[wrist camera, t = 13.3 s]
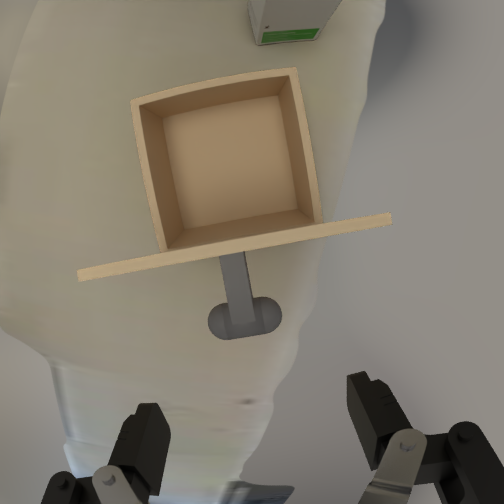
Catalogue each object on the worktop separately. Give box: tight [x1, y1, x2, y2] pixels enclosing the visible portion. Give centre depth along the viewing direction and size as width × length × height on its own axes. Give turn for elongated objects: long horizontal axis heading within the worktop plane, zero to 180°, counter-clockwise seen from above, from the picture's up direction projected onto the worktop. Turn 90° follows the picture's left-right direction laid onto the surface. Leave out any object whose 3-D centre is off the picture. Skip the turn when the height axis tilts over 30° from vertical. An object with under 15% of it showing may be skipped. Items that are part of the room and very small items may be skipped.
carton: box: [130, 67, 323, 253], centre depth 32 cm, size 16×16×10 cm
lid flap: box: [77, 212, 392, 340], centre depth 22 cm, size 16×16×5 cm
